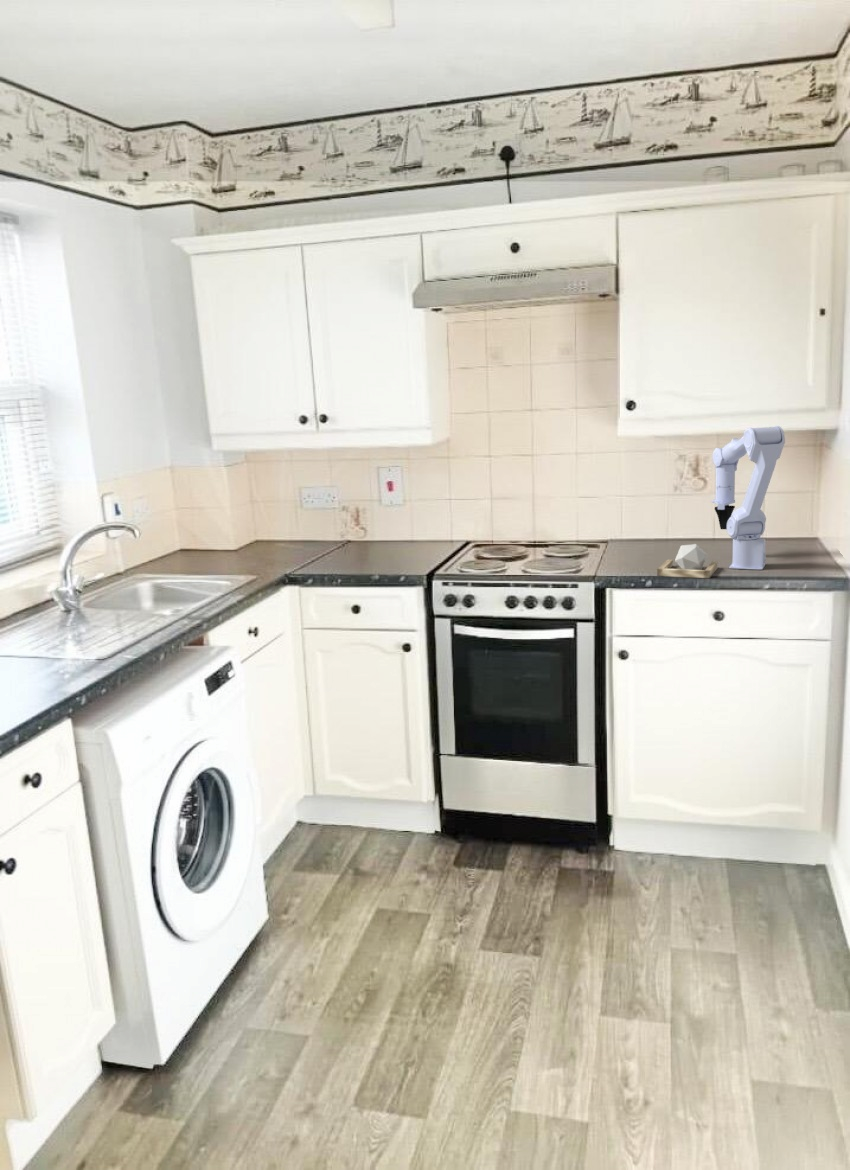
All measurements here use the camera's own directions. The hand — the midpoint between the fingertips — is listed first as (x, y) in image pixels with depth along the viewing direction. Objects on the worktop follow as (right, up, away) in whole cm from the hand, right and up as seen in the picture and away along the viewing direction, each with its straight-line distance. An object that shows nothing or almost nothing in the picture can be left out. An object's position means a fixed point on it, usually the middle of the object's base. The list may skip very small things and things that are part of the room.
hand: (724, 529), depth 286 cm
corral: (-15, -14, -13) cm, 24 cm away
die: (-14, -14, -12) cm, 23 cm away
